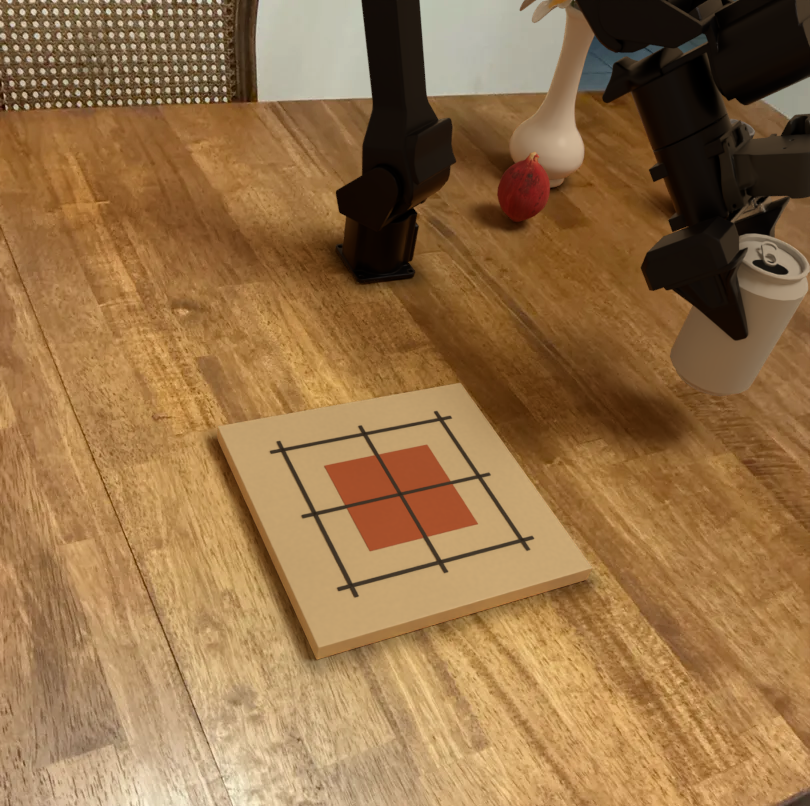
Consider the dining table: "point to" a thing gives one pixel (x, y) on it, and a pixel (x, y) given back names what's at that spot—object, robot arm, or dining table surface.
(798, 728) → the dining table surface
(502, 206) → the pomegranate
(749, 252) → the can
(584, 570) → the board
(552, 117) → the flower vase
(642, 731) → the dining table surface
